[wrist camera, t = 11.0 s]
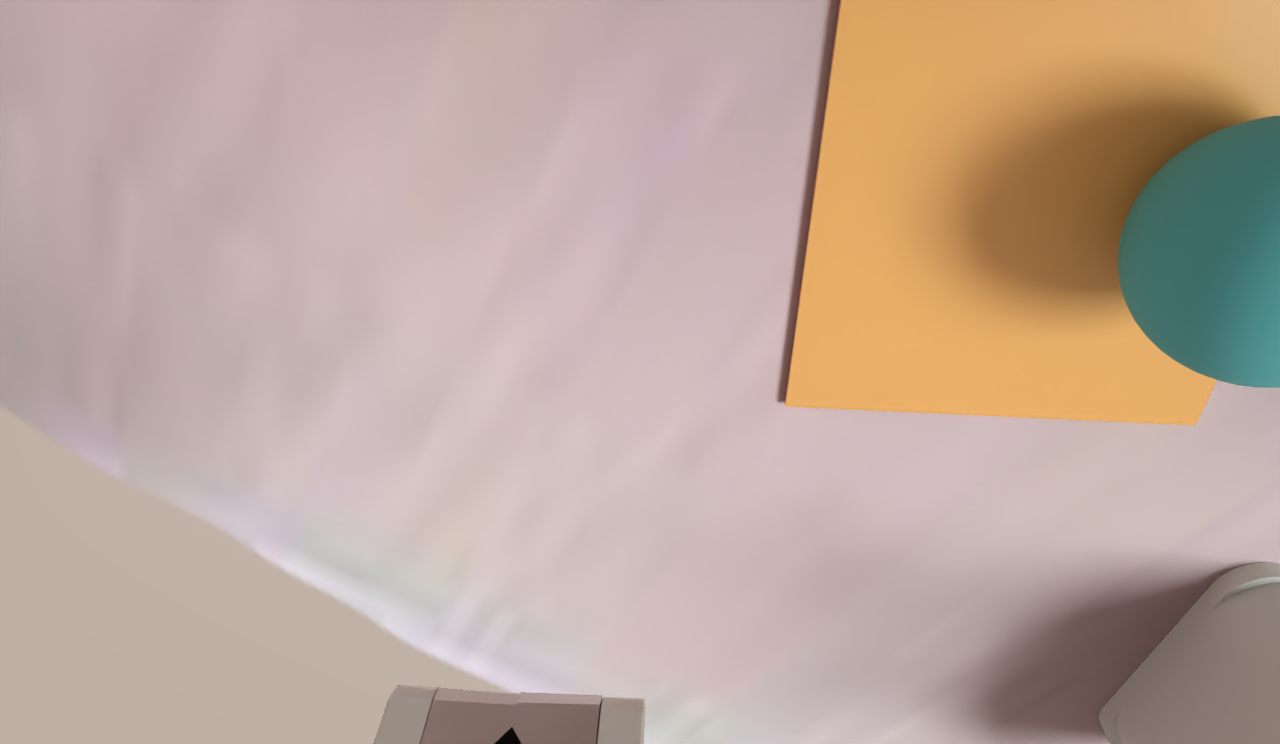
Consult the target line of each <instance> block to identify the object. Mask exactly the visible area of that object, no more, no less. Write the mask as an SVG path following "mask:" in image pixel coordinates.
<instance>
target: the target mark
mask: <svg viewBox="0 0 1280 744" xmlns="http://www.w3.org/2000/svg"><path fill="white" fill-rule="evenodd" d="M1270 116H1280V0H840V4H839V11H838V18H837V25H836V33H835V40H834V47H833V55H832V62H831V69H830V77H829V84H828V91H827V99H826V106H825V113H824V120H823V128H822V135H821V142H820V150H819V157H818V164H817V172H816V179H815V186H814V194H813V201H812V208H811V215H810V223H809V230H808V237H807V245H806V252H805V259H804V267H803V274H802V281H801V289H800V296H799V303H798V310H797V318H796V325H795V332H794V340H793V347H792V354H791V362H790V369H789V376H788V384H787V391H786V398H785V406H786V407H808V408H829V409H851V410H873V411H895V412H917V413H938V414H960V415H982V416H1004V417H1026V418H1047V419H1069V420H1091V421H1113V422H1135V423H1157V424H1178V425H1196V424H1197V421H1198V419H1199V417H1200V415H1201V413H1202V411H1203V409H1204V407H1205V405H1206V402H1207V400H1208V398H1209V396H1210V394H1211V392H1212V390H1213V388H1214V385H1215V383H1216V381H1217V380H1216V379H1213V378H1210V377H1207V376H1205V375H1202V374H1199V373H1197V372H1195V371H1193V370H1191V369H1189V368H1187V367H1185V366H1183V365H1181V364H1180V363H1178V362H1176V361H1175V360H1173V359H1172V358H1171V357H1169V356H1168V355H1166V354H1165V353H1164V352H1162V351H1161V350H1160V349H1159V348H1158V347H1157V346H1156V345H1155V344H1154V343H1153V342H1152V341H1151V340H1150V339H1149V338H1148V337H1147V336H1146V335H1145V334H1144V333H1143V331H1142V330H1141V329H1140V327H1139V326H1138V324H1137V323H1136V322H1135V320H1134V319H1133V317H1132V315H1131V313H1130V311H1129V309H1128V307H1127V304H1126V302H1125V300H1124V297H1123V294H1122V290H1121V285H1120V280H1119V273H1118V252H1119V243H1120V237H1121V233H1122V230H1123V227H1124V224H1125V221H1126V219H1127V216H1128V213H1129V211H1130V209H1131V208H1132V206H1133V204H1134V202H1135V200H1136V199H1137V197H1138V195H1139V194H1140V192H1141V191H1142V189H1143V188H1144V187H1145V186H1146V184H1147V183H1148V182H1149V181H1150V179H1151V178H1152V177H1153V176H1154V175H1155V174H1156V173H1157V172H1158V171H1159V170H1160V169H1161V168H1162V167H1163V166H1164V165H1165V164H1166V163H1167V162H1168V161H1169V160H1170V159H1172V158H1173V157H1174V156H1176V155H1177V154H1178V153H1180V152H1181V151H1182V150H1184V149H1185V148H1187V147H1188V146H1190V145H1192V144H1194V143H1195V142H1197V141H1199V140H1201V139H1202V138H1204V137H1206V136H1208V135H1210V134H1212V133H1214V132H1217V131H1219V130H1221V129H1224V128H1226V127H1230V126H1233V125H1236V124H1240V123H1243V122H1246V121H1250V120H1253V119H1259V118H1265V117H1270Z"/></svg>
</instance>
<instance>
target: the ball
mask: <svg viewBox="0 0 1280 744" xmlns="http://www.w3.org/2000/svg"><path fill="white" fill-rule="evenodd" d="M1118 273H1119V280H1120V285H1121V290H1122V294H1123V297H1124V300H1125V302H1126V304H1127V307H1128V309H1129V311H1130V313H1131V315H1132V317H1133V319H1134V320H1135V322H1136V323H1137V324H1138V326H1139V327H1140V329H1141V330H1142V331H1143V333H1144V334H1145V335H1146V336H1147V337H1148V338H1149V339H1150V340H1151V341H1152V342H1153V343H1154V344H1155V345H1156V346H1157V347H1158V348H1159V349H1160V350H1161V351H1162V352H1164V353H1165V354H1166V355H1168V356H1169V357H1171V358H1172V359H1173V360H1175V361H1176V362H1178V363H1180V364H1181V365H1183V366H1185V367H1187V368H1189V369H1191V370H1193V371H1195V372H1197V373H1199V374H1202V375H1205V376H1207V377H1210V378H1213V379H1216V380H1219V381H1224V382H1228V383H1232V384H1236V385H1243V386H1251V387H1280V116H1270V117H1265V118H1259V119H1253V120H1250V121H1246V122H1243V123H1240V124H1236V125H1233V126H1230V127H1226V128H1224V129H1221V130H1219V131H1217V132H1214V133H1212V134H1210V135H1208V136H1206V137H1204V138H1202V139H1201V140H1199V141H1197V142H1195V143H1194V144H1192V145H1190V146H1188V147H1187V148H1185V149H1184V150H1182V151H1181V152H1180V153H1178V154H1177V155H1176V156H1174V157H1173V158H1172V159H1170V160H1169V161H1168V162H1167V163H1166V164H1165V165H1164V166H1163V167H1162V168H1161V169H1160V170H1159V171H1158V172H1157V173H1156V174H1155V175H1154V176H1153V177H1152V178H1151V179H1150V181H1149V182H1148V183H1147V184H1146V186H1145V187H1144V188H1143V189H1142V191H1141V192H1140V194H1139V195H1138V197H1137V199H1136V200H1135V202H1134V204H1133V206H1132V208H1131V209H1130V211H1129V213H1128V216H1127V219H1126V221H1125V224H1124V227H1123V230H1122V233H1121V237H1120V243H1119V252H1118Z"/></svg>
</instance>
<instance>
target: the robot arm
mask: <svg viewBox="0 0 1280 744" xmlns="http://www.w3.org/2000/svg"><path fill="white" fill-rule="evenodd" d="M644 724H645V699H642V698H614V697H603V698H602V696H601V695H575V694H550V693H525V692H521V693H508V692H492V691H477V690H462V689H448V688H440V687H425V686H405V685H397V687H396V688H395V690H394V691H393V693H392V694H391V696H390V697H389V699H388V702H387V705H386V708H385V711H384V714H383V717H382V720H381V723H380V726H379V729H378V732H377V735H376V738H375V741H374V744H644Z"/></svg>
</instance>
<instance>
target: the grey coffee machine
mask: <svg viewBox="0 0 1280 744" xmlns="http://www.w3.org/2000/svg"><path fill="white" fill-rule="evenodd" d="M1099 721H1100V724H1101V726H1102V728H1103V731H1104V733H1105V736H1106V738H1107V740H1108V741H1109V742H1110V743H1111V744H1280V564H1278V563H1272V562H1258V563H1251V564H1247V565H1243V566H1240V567H1237V568H1235V569H1232V570H1230V571H1228V572H1226V573H1225V574H1223V575H1222V576H1220V577H1219V578H1218V579H1216V580H1215V581H1214V582H1213V583H1212V585H1211V586H1210V587H1209V588H1208V589H1207V590H1206V591H1205V592H1204V594H1203V595H1202V596H1201V597H1200V598H1199V599H1198V600H1197V601H1196V603H1195V604H1194V605H1193V606H1192V607H1191V608H1190V609H1189V611H1188V612H1187V613H1186V614H1185V615H1184V616H1183V617H1182V618H1181V620H1180V621H1179V622H1178V623H1177V624H1176V625H1175V626H1174V627H1173V629H1172V630H1171V631H1170V632H1169V633H1168V634H1167V635H1166V637H1165V638H1164V639H1163V640H1162V641H1161V642H1160V643H1159V644H1158V646H1157V647H1156V648H1155V649H1154V650H1153V651H1152V652H1151V653H1150V655H1149V656H1148V657H1147V658H1146V659H1145V660H1144V661H1143V663H1142V664H1141V665H1140V666H1139V667H1138V668H1137V669H1136V670H1135V672H1134V673H1133V674H1132V675H1131V676H1130V677H1129V678H1128V679H1127V681H1126V682H1125V683H1124V684H1123V685H1122V686H1121V687H1120V689H1119V690H1118V691H1117V692H1116V693H1115V694H1114V695H1113V696H1112V698H1111V699H1110V700H1109V701H1108V702H1107V703H1106V704H1105V705H1104V707H1103V708H1102V709H1101V711H1100V714H1099Z"/></svg>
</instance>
